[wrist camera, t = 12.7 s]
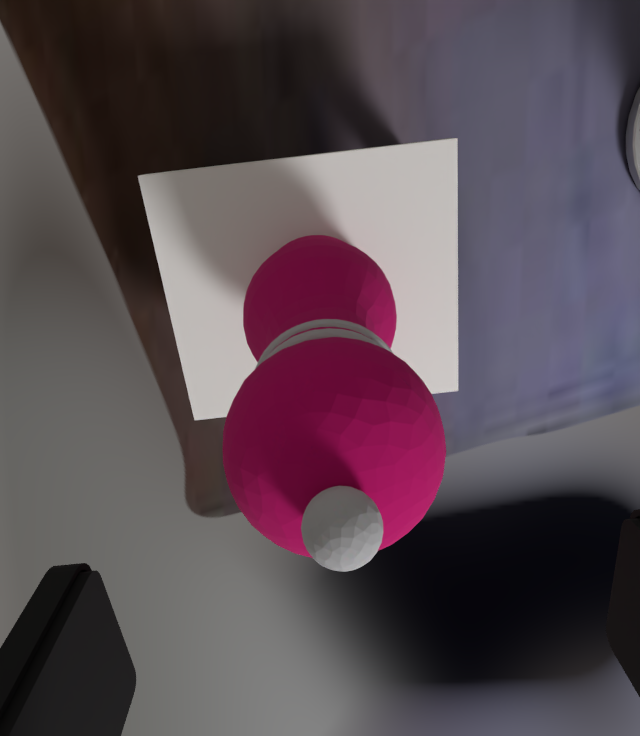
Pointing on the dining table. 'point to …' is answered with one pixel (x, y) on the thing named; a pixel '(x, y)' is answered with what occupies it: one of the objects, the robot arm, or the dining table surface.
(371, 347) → the pepper mill
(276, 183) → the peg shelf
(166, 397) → the dining table surface
